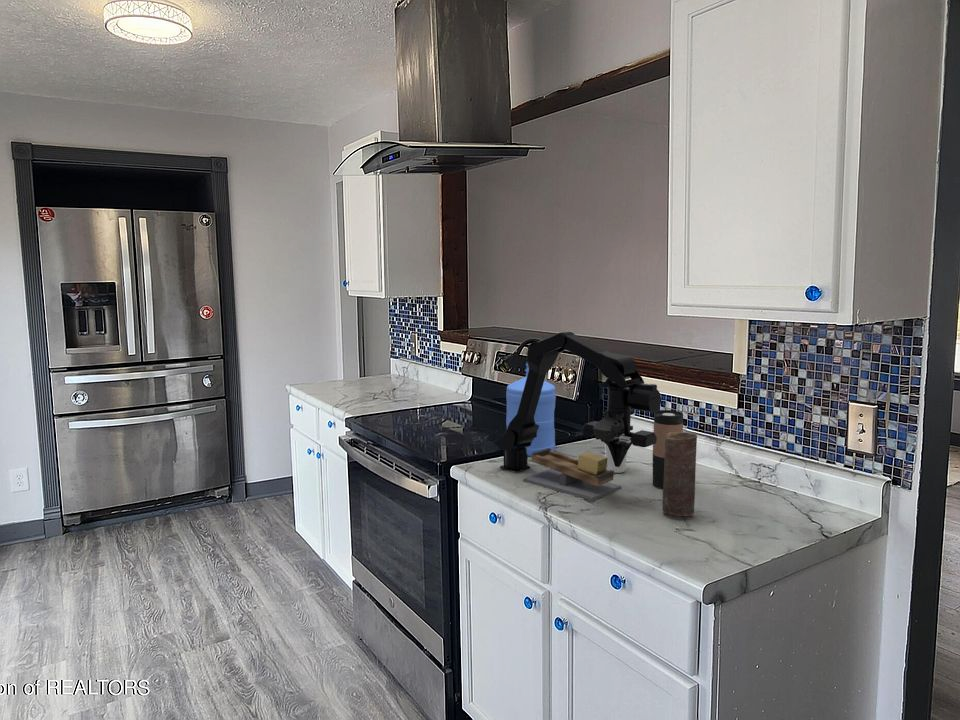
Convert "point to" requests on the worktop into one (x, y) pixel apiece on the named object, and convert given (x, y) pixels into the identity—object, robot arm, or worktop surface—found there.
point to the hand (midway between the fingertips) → (617, 466)
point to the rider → (592, 463)
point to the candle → (679, 474)
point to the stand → (571, 484)
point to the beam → (569, 466)
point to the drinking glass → (611, 463)
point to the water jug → (542, 414)
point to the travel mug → (663, 440)
